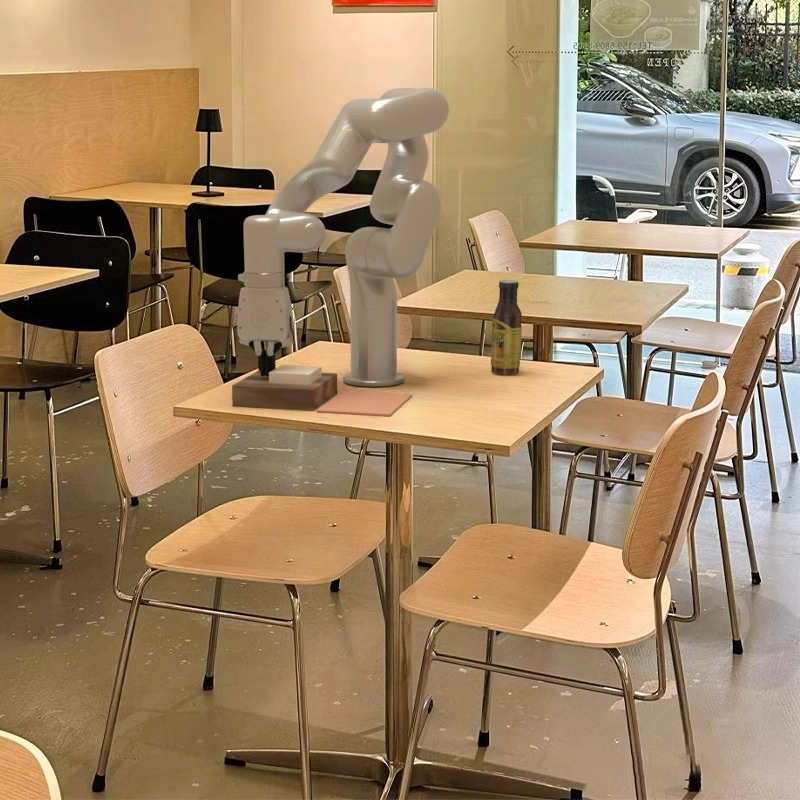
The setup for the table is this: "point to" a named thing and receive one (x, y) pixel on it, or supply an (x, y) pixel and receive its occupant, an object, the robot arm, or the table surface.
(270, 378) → the cream block
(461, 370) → the table surface
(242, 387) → the deck
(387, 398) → the mat
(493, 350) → the sauce bottle
